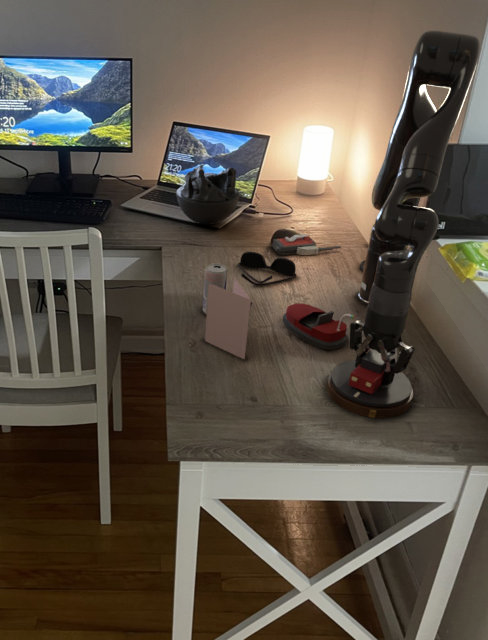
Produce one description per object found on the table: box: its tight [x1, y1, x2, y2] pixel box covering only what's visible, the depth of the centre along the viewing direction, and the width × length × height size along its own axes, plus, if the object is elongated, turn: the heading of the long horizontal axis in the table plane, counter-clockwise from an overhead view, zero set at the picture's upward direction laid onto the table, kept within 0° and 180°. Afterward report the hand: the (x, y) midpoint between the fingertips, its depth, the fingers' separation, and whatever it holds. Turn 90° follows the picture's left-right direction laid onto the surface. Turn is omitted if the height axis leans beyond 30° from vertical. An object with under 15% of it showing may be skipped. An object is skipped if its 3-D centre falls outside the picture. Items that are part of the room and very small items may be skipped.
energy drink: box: [202, 263, 228, 315], centre depth 167 cm, size 5×5×12 cm
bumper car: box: [282, 302, 356, 351], centre depth 159 cm, size 10×20×10 cm, turn 32°
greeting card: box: [204, 276, 253, 360], centre depth 152 cm, size 11×7×15 cm, turn 12°
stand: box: [326, 370, 414, 419], centre depth 141 cm, size 17×17×2 cm
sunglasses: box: [237, 251, 298, 287], centre depth 185 cm, size 17×14×5 cm
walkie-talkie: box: [272, 233, 342, 256], centre depth 203 cm, size 9×4×20 cm
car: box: [331, 348, 413, 407], centre depth 138 cm, size 16×16×6 cm
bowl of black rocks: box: [176, 164, 240, 225], centre depth 217 cm, size 20×20×19 cm
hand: (372, 376), depth 140 cm, fingers closed on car, 5 cm apart
